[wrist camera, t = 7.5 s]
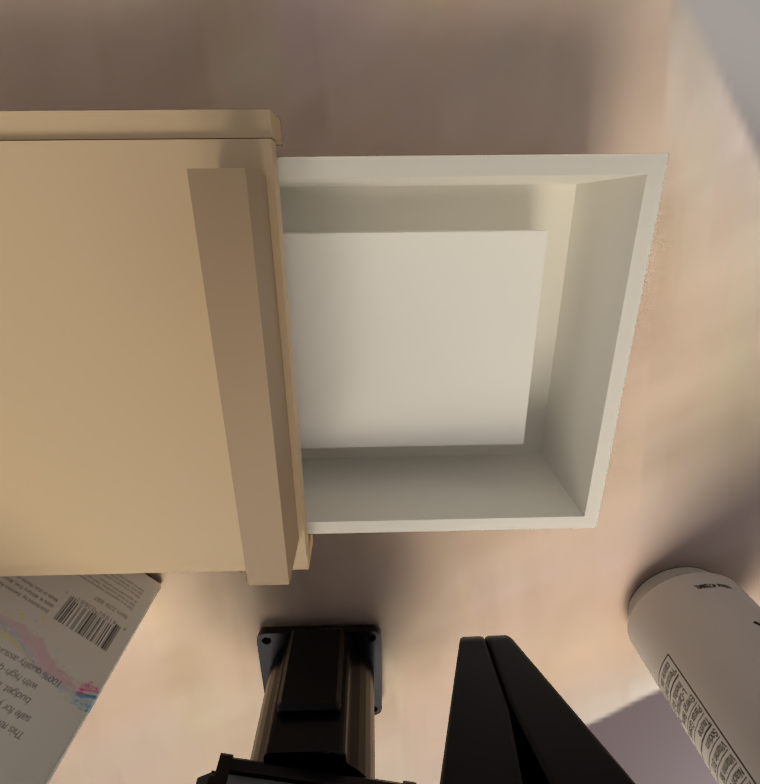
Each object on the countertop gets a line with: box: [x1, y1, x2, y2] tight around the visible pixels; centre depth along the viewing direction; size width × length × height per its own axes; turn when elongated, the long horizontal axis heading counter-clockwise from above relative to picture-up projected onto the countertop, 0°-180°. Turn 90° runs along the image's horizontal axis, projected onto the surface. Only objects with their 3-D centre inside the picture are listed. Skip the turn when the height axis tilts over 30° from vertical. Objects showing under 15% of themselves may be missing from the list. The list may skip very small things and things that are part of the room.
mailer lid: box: [0, 109, 313, 586], centre depth 13 cm, size 14×14×4 cm
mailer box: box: [277, 153, 669, 534], centre depth 17 cm, size 12×14×5 cm
